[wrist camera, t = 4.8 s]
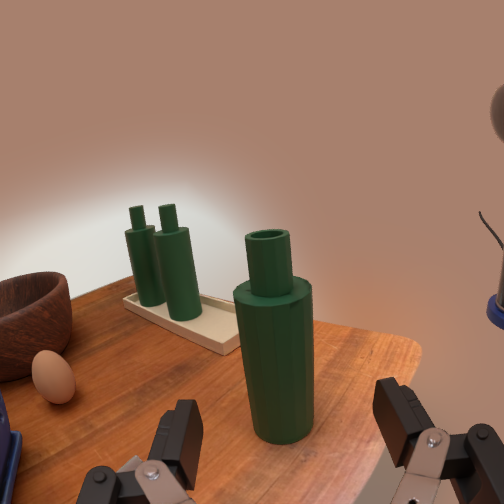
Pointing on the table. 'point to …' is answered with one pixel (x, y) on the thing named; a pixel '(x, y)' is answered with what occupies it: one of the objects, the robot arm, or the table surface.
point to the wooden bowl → (32, 320)
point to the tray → (196, 322)
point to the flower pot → (8, 455)
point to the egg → (53, 377)
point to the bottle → (276, 339)
